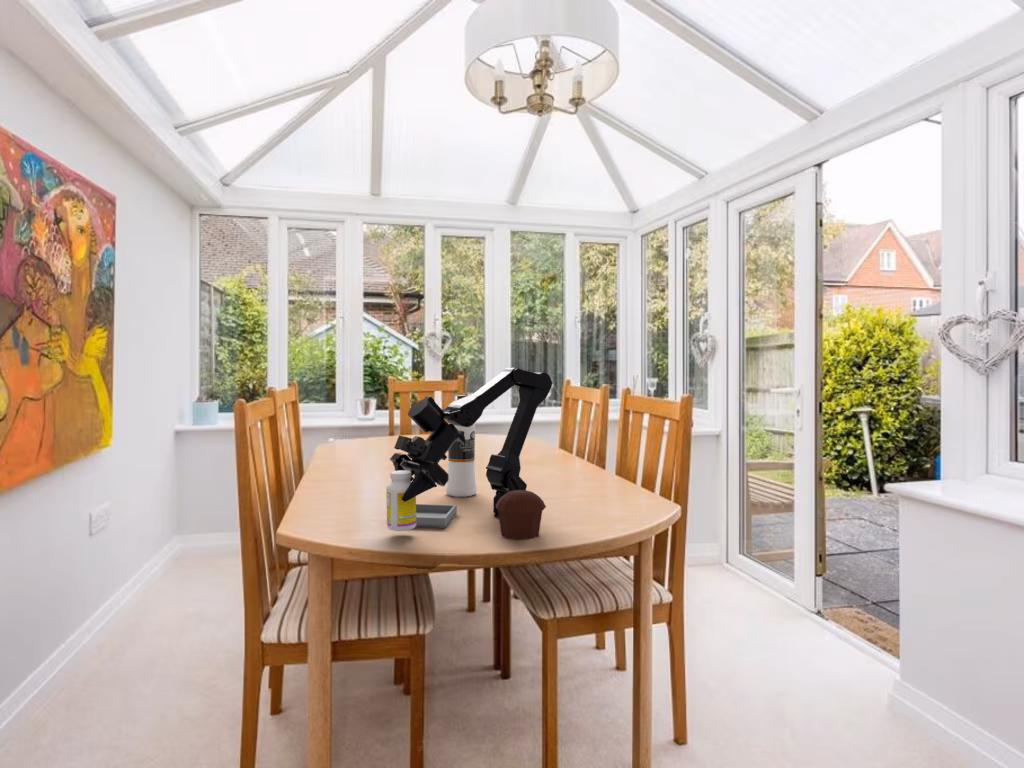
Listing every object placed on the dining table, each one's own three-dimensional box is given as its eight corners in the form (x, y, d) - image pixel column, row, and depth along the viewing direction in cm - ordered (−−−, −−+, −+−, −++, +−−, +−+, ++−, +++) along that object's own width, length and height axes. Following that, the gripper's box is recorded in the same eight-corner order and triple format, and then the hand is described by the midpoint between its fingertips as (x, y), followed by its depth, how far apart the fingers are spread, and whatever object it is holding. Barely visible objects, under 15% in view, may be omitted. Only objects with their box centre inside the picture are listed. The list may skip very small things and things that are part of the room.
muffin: (492, 540, 133) (493, 496, 133) (496, 527, 144) (496, 486, 144) (546, 541, 133) (546, 497, 132) (545, 528, 144) (546, 486, 143)
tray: (456, 514, 156) (456, 505, 156) (445, 528, 143) (445, 518, 143) (407, 512, 158) (407, 503, 157) (391, 526, 144) (391, 516, 144)
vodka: (458, 489, 186) (458, 393, 185) (482, 493, 181) (483, 394, 180) (439, 495, 178) (439, 395, 177) (464, 499, 173) (464, 396, 172)
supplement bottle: (422, 525, 138) (421, 470, 138) (405, 533, 132) (404, 475, 132) (398, 522, 141) (397, 468, 140) (380, 529, 135) (380, 473, 134)
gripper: (396, 419, 145) (354, 469, 139) (436, 426, 131) (391, 482, 124) (425, 448, 151) (386, 498, 144) (466, 458, 136) (424, 514, 130)
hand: (395, 497), depth 135 cm, fingers closed on supplement bottle, 7 cm apart
